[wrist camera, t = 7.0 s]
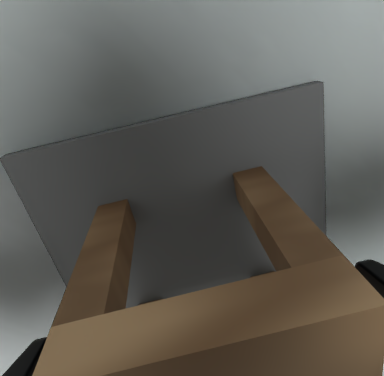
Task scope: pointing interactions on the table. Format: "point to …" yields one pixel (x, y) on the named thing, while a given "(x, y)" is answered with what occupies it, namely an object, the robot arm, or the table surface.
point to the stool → (221, 306)
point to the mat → (179, 187)
